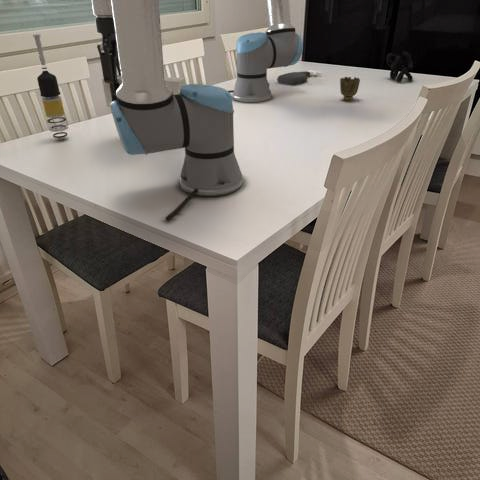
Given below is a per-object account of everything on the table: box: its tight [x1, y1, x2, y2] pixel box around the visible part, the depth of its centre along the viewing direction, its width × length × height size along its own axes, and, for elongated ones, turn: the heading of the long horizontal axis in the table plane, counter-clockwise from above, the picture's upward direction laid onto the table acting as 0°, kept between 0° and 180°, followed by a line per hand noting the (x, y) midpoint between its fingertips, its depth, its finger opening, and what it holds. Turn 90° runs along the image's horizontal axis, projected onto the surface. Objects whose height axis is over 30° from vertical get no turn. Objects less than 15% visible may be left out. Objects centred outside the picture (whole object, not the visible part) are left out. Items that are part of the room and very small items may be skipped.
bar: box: [101, 74, 186, 108], centre depth 129 cm, size 23×5×8 cm, turn 77°
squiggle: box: [385, 51, 414, 83], centre depth 198 cm, size 11×10×15 cm
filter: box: [32, 33, 69, 140], centre depth 132 cm, size 6×6×30 cm
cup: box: [339, 76, 361, 102], centre depth 171 cm, size 8×7×8 cm
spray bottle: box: [276, 69, 322, 86], centre depth 204 cm, size 3×11×25 cm
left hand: (122, 103), depth 133 cm, fingers closed on bar, 5 cm apart
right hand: (351, 23), depth 139 cm, fingers open, 13 cm apart
